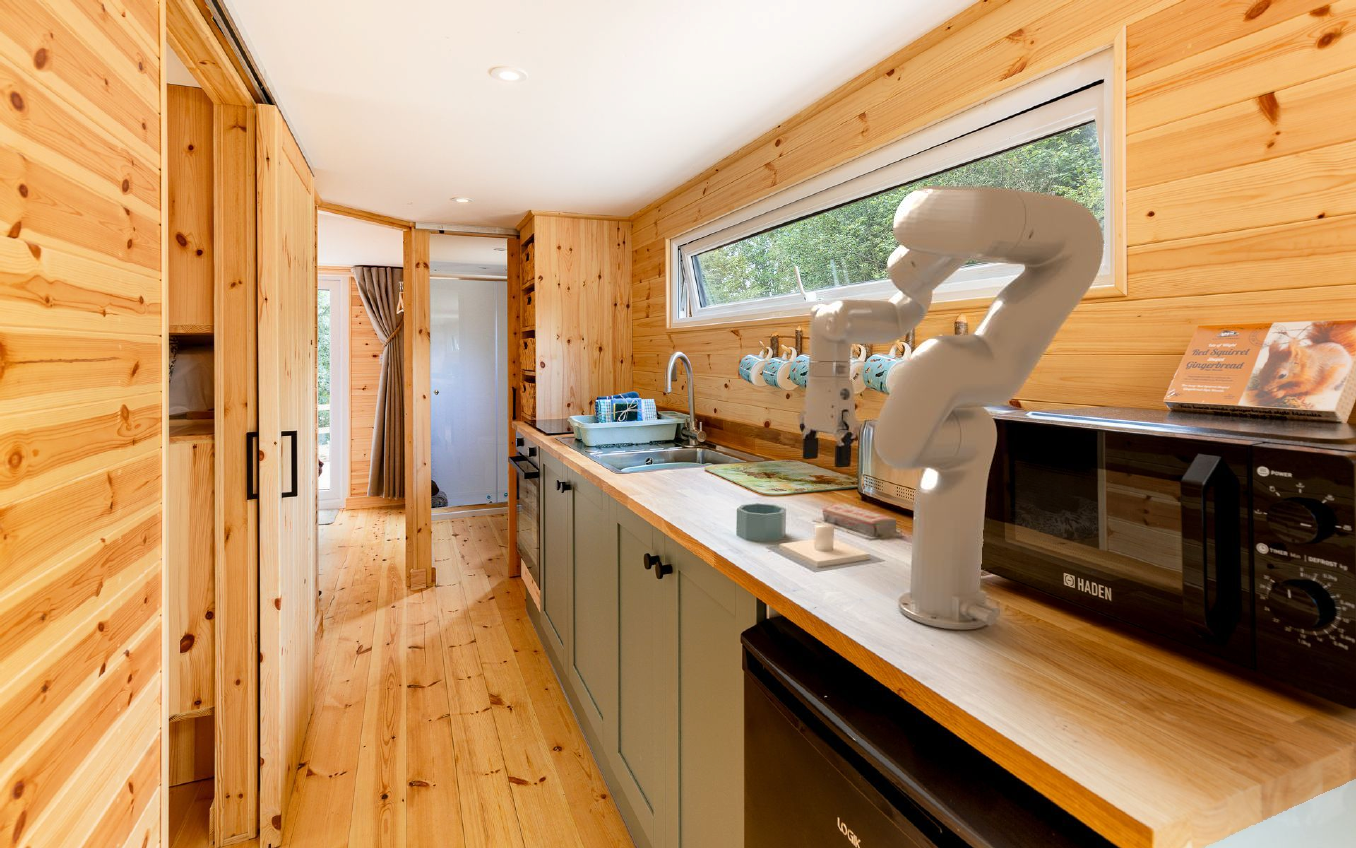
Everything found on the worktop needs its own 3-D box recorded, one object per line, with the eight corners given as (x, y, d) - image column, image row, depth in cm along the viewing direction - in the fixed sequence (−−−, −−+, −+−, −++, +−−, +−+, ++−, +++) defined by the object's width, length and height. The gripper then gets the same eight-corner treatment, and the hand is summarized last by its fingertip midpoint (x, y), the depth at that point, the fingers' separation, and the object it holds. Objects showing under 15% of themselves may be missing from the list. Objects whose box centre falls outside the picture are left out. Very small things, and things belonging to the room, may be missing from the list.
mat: (885, 562, 120) (885, 560, 120) (814, 574, 113) (814, 572, 113) (830, 540, 134) (831, 538, 134) (765, 549, 128) (765, 547, 128)
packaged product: (904, 516, 137) (870, 521, 133) (904, 538, 138) (869, 544, 133) (844, 499, 153) (812, 504, 148) (844, 519, 154) (811, 524, 149)
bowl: (793, 540, 134) (793, 511, 133) (753, 545, 130) (753, 516, 129) (767, 528, 143) (768, 502, 142) (729, 533, 139) (730, 506, 138)
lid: (869, 558, 121) (870, 530, 120) (816, 567, 116) (817, 537, 115) (829, 542, 132) (830, 515, 131) (779, 548, 127) (780, 521, 126)
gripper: (877, 373, 114) (872, 469, 116) (817, 370, 129) (814, 454, 131) (843, 373, 111) (839, 472, 113) (785, 370, 126) (783, 456, 128)
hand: (825, 462), depth 122 cm, fingers open, 9 cm apart
